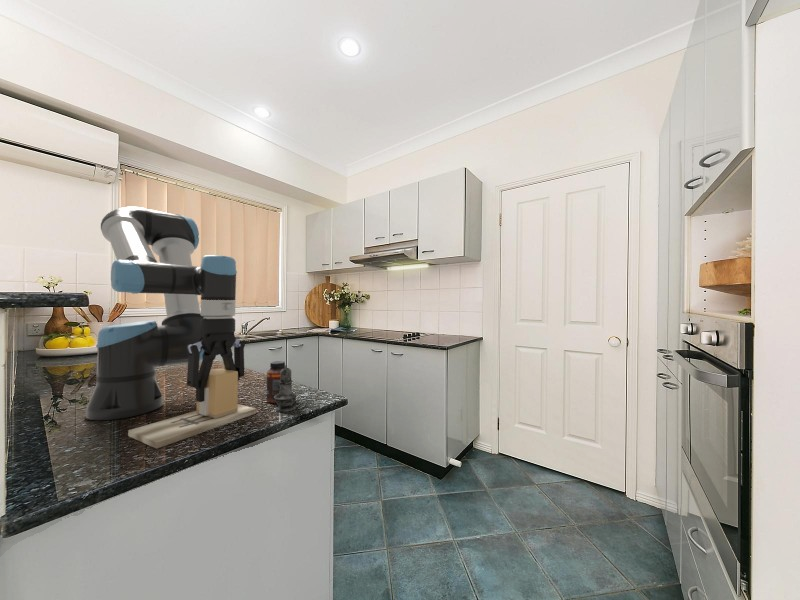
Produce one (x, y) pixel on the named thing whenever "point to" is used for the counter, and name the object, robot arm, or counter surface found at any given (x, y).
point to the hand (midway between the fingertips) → (217, 410)
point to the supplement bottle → (274, 380)
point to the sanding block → (222, 392)
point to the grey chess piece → (285, 392)
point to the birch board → (184, 427)
